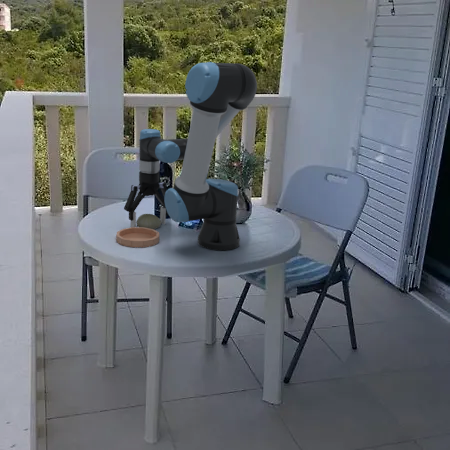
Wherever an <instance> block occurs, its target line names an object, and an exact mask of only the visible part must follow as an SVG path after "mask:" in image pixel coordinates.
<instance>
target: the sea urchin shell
mask: <svg viewBox="0 0 450 450" xmlns="http://www.w3.org/2000/svg"><path fill="white" fill-rule="evenodd" d="M161 224H162V223H161V221H160V217H158V216H157V215H155V214H152V213H143V214H141V215H139V216H138V217H137V218H136V227H144V228H149V229H154V230H156V229H158V228H160V226H161Z"/></svg>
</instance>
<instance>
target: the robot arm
mask: <svg viewBox="0 0 450 450" xmlns="http://www.w3.org/2000/svg"><path fill="white" fill-rule="evenodd" d="M184 89H185V90H186V91H185V94H186V97H187V99H188V100H189V105H190V106H191V108H192V109H193V112H192V116H191V121H190V126H189V131H188V135H187V137H186V138H185V137H184V138H173V139H172V138H171V139H166V138H165V139H164V138H162V135H161V131H160V130H158V129H154V128H145V129H142V130H140V132H139V139H138V141H139V148H138V149H139V152H138V153H139V155H138V156H139V162H138V165H139V167H138V169H139V172H138V181H139V183H138V185H135V184H132V185H131V187H130V192H129V195H128V197H127V200H126V202H125V205H124V207H123V210H124V211H126V212H128V220H130V228H132V227H137V223H136V221H137V212H136V210H137V208H138V206H139V205H140V204H141V202H142V201H143V199H145V198H146V197H150V196H152V197H153V196H154V197H155V198H156V199H157V201H158V202H159V203H160V204H161V206H160V211H159V212H160V215H159V219H160V221H161V224H162V225H166V218H167V216H169V217H170V219H171V220H172V221H174V222H176V223H188V222H192V221H197V220H202V221H203V222H202V225H201V228H200V230H199V233H198V234H197V235H198V236H197V244H198V246H200V247H202V248H204V249H208V250H212V251H213V250H214V251H231V250H234V249H237V248H238V247H239V246H240V244H241V243H240V242H241V238H240V235H239V230H238V227H237V213H238V212H237V211H238V200H239V187H238V184H236V183H234V182H233V181H230V180H225V179H220V178H208V174H209V170H210V167H211V166H210V165H211V161H212V157H213V156H212V155H213V152H214V148H215V147H214V146H215V143H216V139H217V138H218V136H220V134H221V133H222V132H223V131H224V129H225V128H226V127H227V126H228V125H229V123H231V122H232V120H233V119H234V118H235V116H237V114H238V113H239V112H240V111H244V110H246V109H247V108H248V106H250V104H251V103H252V102H253V100H254V99H255V97H256V94H257V89H258V82H257V79H256V76H255V74H254V72H253V70H251V69H250V68H249V67H248V66H246V65H245V64H242V63H237V62H234V63H233V62H232V63H231V62H229V63H228V62H226V63H225V62H212V61H208V62H199V63H197V64H195V65H193V66H192V67H191V68H190V70H189V71H188V73H187V76H186V79H185V84H184ZM180 160H181V161H182V160H183V162H182V166H181V171H180V175H179V176H178V177H177V178H175V180H174V184H173V187H169V188H168V189H167V183H166V182H164V181H160V171H161V170H160V169H161V168H160V166H161V165H160V164H161V163H160V162H162V163H165V164H166V163H167V164H173V163H175V162H176V161H180ZM159 181H160V182H159ZM159 189H160V191H161V193H162V195H163V197H162V195H161V193H160V192H159V191H158V190H159Z"/></svg>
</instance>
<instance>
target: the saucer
mask: <svg viewBox="0 0 450 450" xmlns="http://www.w3.org/2000/svg"><path fill="white" fill-rule="evenodd" d="M115 235H116V236H115V237H116V242H117V243H118V245H121V246H123V247H127V248H135V247H136V248H135V249H137V247H138V248H139V247H141V248H149V246H150V247H154V246H155V245H158V243H159V242H160V232H159V231H157V230H156V229H149V228H144V227H138V226H136V227H132V228H131V227H127V228H122V229H119V230H117V231H116V234H115Z"/></svg>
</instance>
